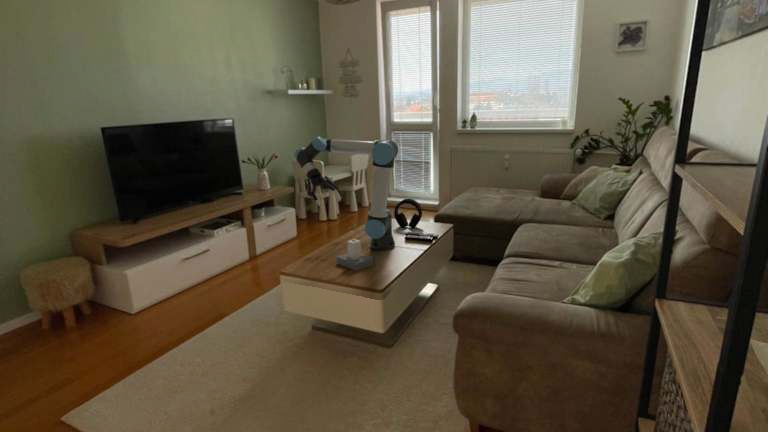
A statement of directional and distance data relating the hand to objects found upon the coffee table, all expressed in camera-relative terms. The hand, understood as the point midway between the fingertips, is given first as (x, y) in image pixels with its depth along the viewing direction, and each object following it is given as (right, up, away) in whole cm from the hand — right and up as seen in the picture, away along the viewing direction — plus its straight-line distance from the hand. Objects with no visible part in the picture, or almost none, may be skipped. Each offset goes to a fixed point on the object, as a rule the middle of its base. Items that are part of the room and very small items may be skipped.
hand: (330, 202), depth 231 cm
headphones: (+46, -16, +65) cm, 81 cm away
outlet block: (+13, -34, 0) cm, 36 cm away
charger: (+13, -32, -1) cm, 35 cm away
